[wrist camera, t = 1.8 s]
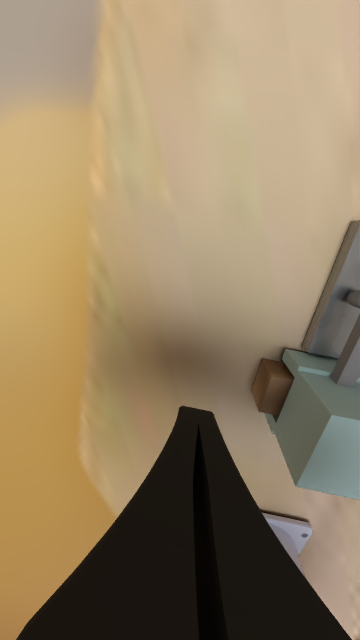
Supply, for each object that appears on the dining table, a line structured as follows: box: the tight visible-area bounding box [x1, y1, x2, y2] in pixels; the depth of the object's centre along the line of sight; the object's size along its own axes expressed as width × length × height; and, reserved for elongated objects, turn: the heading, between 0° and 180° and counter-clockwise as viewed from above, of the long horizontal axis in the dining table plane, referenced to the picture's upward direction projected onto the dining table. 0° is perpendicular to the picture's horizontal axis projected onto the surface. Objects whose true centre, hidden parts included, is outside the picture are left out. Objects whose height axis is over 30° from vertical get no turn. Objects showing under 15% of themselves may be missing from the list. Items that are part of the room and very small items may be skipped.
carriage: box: [265, 290, 360, 500], centre depth 11 cm, size 9×4×5 cm, turn 170°
